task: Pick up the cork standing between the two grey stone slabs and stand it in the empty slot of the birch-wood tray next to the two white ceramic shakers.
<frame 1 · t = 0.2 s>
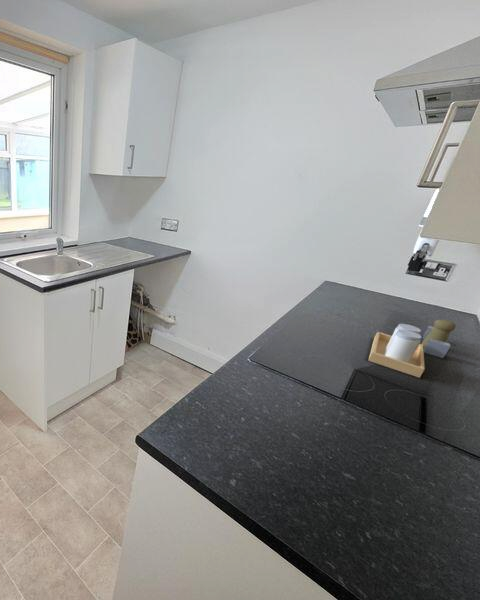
hand: (413, 269, 119), 27 cm above the counter, tool pointing down, fingers open, 9 cm apart
salt shaker: (394, 362, 105), point 1 cm above the counter, touching shaker tray
grey slab back: (431, 340, 123), on the counter
grey slab front: (433, 354, 113), on the counter
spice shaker: (395, 355, 109), point 1 cm above the counter, touching shaker tray
cork: (432, 347, 118), on the counter
shaker tray: (394, 356, 110), on the counter
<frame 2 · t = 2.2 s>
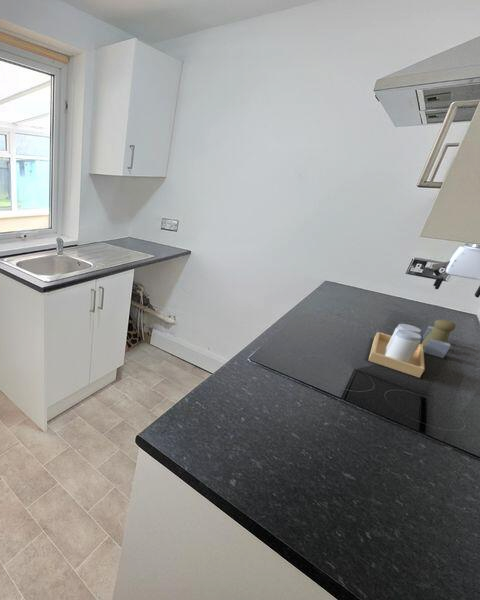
hand: (455, 292, 110), 22 cm above the counter, tool pointing down, fingers open, 9 cm apart
nothing on the counter moved.
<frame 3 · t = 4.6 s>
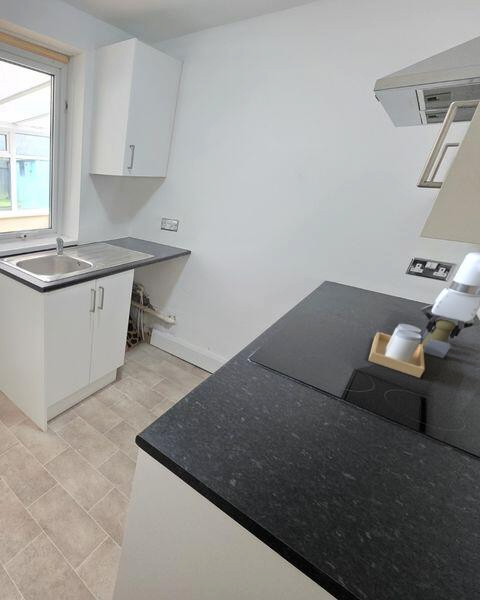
hand: (439, 333, 115), 6 cm above the counter, tool pointing down, fingers closed on cork, 5 cm apart
cork: (431, 347, 118), on the counter, touching gripper
everything else where it was.
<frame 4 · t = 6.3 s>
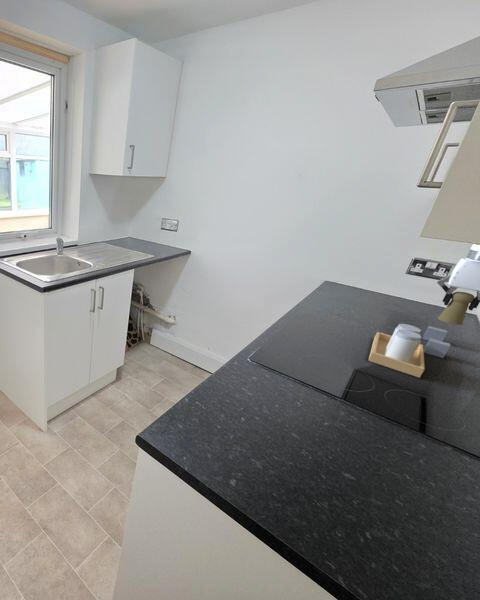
hand: (457, 306, 111), 17 cm above the counter, tool pointing down, fingers closed on cork, 5 cm apart
cork: (449, 321, 113), point 11 cm above the counter, touching gripper
everything else where it was.
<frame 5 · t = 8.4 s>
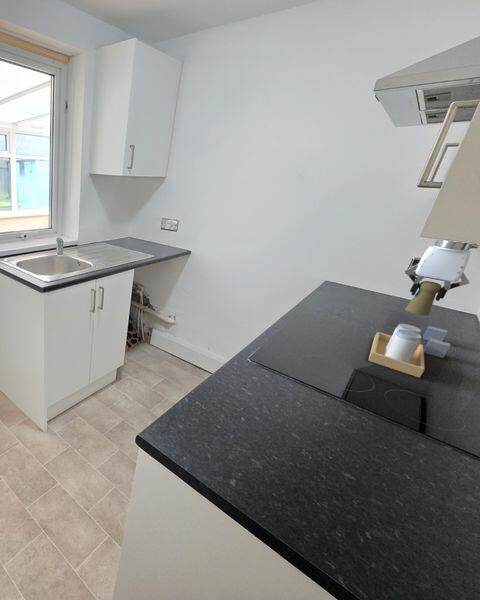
hand: (424, 296, 106), 21 cm above the counter, tool pointing down, fingers closed on cork, 5 cm apart
cork: (416, 312, 108), point 15 cm above the counter, touching gripper
everything else where it was.
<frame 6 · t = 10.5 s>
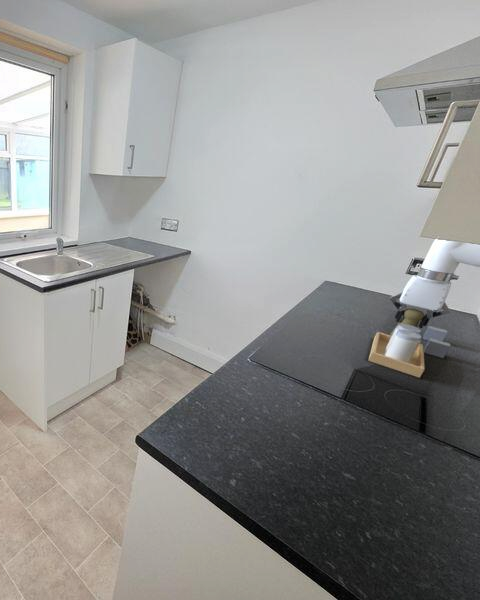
hand: (408, 323, 110), 11 cm above the counter, tool pointing down, fingers closed on cork, 5 cm apart
cork: (401, 338, 112), point 5 cm above the counter, touching gripper
everything else where it was.
when the fingers open (7 cm above the counter, at t = 12.1 s): cork stays where it is, resting on shaker tray.
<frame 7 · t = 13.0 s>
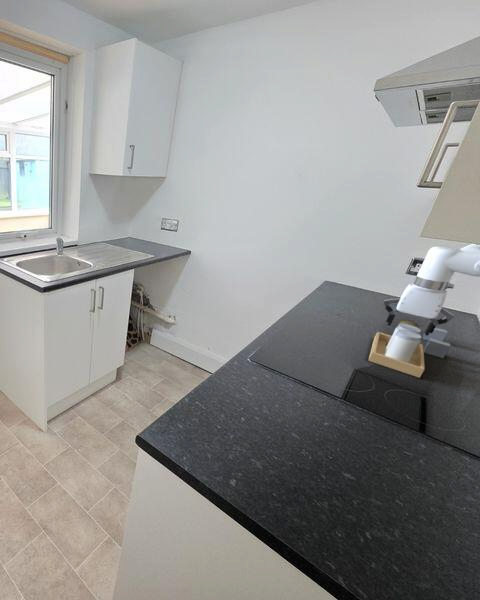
hand: (407, 329, 111), 9 cm above the counter, tool pointing down, fingers open, 9 cm apart
cork: (396, 348, 114), point 1 cm above the counter, touching shaker tray
everything else where it was.
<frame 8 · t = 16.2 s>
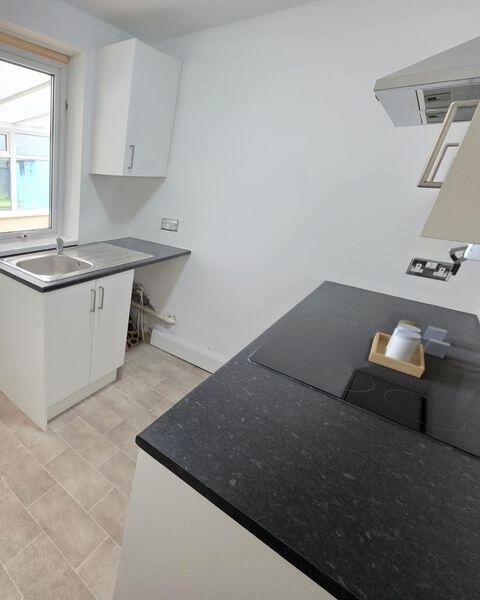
hand: (474, 278, 104), 28 cm above the counter, tool pointing down, fingers open, 9 cm apart
nothing on the counter moved.
at the end: cork inside the target area in the shaker tray (0.1 cm from its centre), point 0.6 cm above the shaker tray's base; cork tilted 0°; the gripper is holding nothing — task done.
